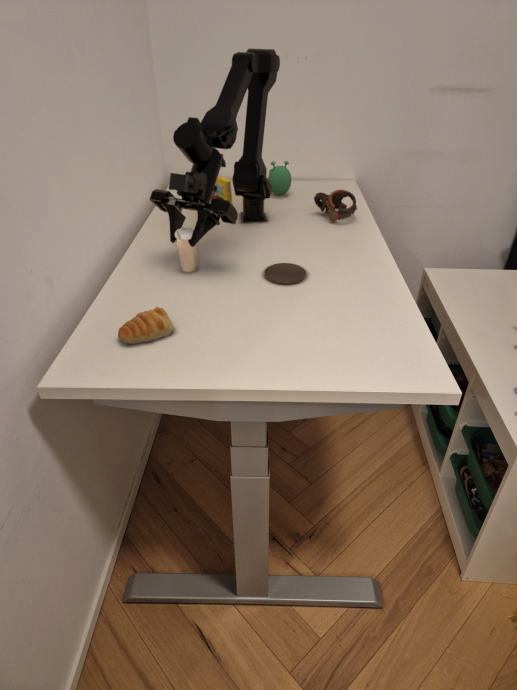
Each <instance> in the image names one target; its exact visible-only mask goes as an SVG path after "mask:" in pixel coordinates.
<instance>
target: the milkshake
mask: <svg viewBox="0 0 517 690" xmlns="http://www.w3.org/2000/svg"><path fill="white" fill-rule="evenodd" d="M193 231H194V228H191V227H182V228H180V229H178V230H176V232H175V240H176V241H175V243H176V247H177V251H178V257H179V261H180V266H181V271H182V272H186V273H190V272H191V273H192V272H195V271H196V270H197V244H196V245H195V246H194V247H191V246H190V241H191V237H192V234H193Z"/></svg>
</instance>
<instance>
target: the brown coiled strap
mask: <svg viewBox="0 0 517 690" xmlns="http://www.w3.org/2000/svg"><path fill="white" fill-rule="evenodd" d="M347 197H348V198H350V200H351V201H352V205H351V206H349V207H348V205H347V204H345V203H344V202H343V199H344V198H347ZM313 201H314V204H315V205H316V206H317V207H318V208H319V210H320V212H321V213H324V212H326V213H328V212H330V213H331V214H330V217H329V221H330V222H332V223H333V224H334V223H336V222H337V221H341V220H345V219H349V218H350V217H352V215H354V214H355V212H356V210H358V206H357V198H356V196H355V195H354V194H353V193H352V192H350V191H348V190H347V189H346V190H345V189H335V190H333V191H332V192H331V193H330V194H327V193H325V192H316V194H315V195H314V197H313Z"/></svg>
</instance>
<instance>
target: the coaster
mask: <svg viewBox="0 0 517 690" xmlns="http://www.w3.org/2000/svg"><path fill="white" fill-rule="evenodd" d="M263 275H264V278H265V279H266V280H267V281H269V282H270V283H272V284H276V285H282V286H290V285H295V284H299V283H301V282H303V281H304V280H305V279H306V278H307V271H306V269H305V268H304V267H302V266H301V265H298V264H296V263H291V262H278V263H274V264H271V265H269V266H267V267H265V270H264V274H263Z"/></svg>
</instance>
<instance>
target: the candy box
mask: <svg viewBox="0 0 517 690" xmlns="http://www.w3.org/2000/svg"><path fill="white" fill-rule="evenodd" d="M215 186H216V187H217V191H216V192H213V193H212V196H211V199H210V202H211V200H213V199H214V198H215V199H221V200H227V201H230V203H231V204H232V205H233V199H232V198H233V196H232V181H231V179H229V178H227V177H225V176H222V175H220V174H218V177H217V180H216V183H215Z"/></svg>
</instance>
